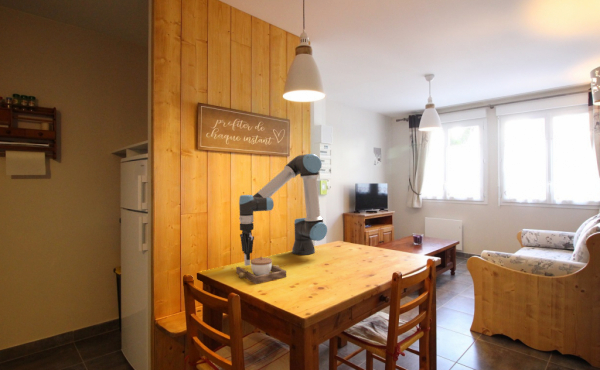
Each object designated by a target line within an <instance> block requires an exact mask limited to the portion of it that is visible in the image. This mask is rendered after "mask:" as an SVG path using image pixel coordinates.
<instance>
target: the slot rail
mask: <svg viewBox="0 0 600 370" xmlns="http://www.w3.org/2000/svg"><path fill="white" fill-rule="evenodd" d="M235 272H236V274H237V275H238V276H239V278H240V279H243V278H244V279H246V280H248V281H250V282H251V283H252V284H255V285H257V284H261V283H265V282H266V283H267V282H270V281H274V280H279V279H283V278H286V277H287V270H285V269H282V268H280V265H278V264H277V265H275V264H272V267H271V271H270V272H269V274H265V275H260V276H256V275H255V274H254V273H253V272H249V270H247V269H244V268H242V267H241V266H236V268H235Z"/></svg>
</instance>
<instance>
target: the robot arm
mask: <svg viewBox="0 0 600 370" xmlns="http://www.w3.org/2000/svg"><path fill="white" fill-rule="evenodd" d="M321 169H322V160H321V158H320V157H319V156H318V155H316V154H314V153H307V154H301V155H297V156H295V157H294V158H293V159H291V160H290V161H289V162H287V164H285V166H284V169H283V170H281V171H280V172H279V173H277V175H276V176H274V178H272V179H271V180H269V182H268V183H267V184H265V185H264V186H263V187H262V188H261V189H260V190H259V191H257V192H256V193H255V194H254V195H252V194H241V195H240V196H239V199H238V200H239V201H238V205H239V206H238V208H239V230H240V231H241V233H240V234H239V237H240V241H241V251H242V252H243V253H244V256H243V257H244V258H243V259H244V266H245V267H247V266H251V254H252V253H253V248H254V240H255V236H252V234H253V232H252V231H253V230H254V212H255V213H256V212H268V211H272V210H273V209H274V205H275V204H274V200H273V198H272V196H273V195H274V194H275V193H277V192H278V191H279V190H280V189H281V188H282V187H283V186H285V185H286V184H287V183H288V182H289V181H290V180H291V179H292V178H293V179H294V178H296V177H297V176H298V175H300V178H301V179H302V181H303V191H304V192H303V193H304V202H305V203H304V204H305V215H306V217H302V218H301V217H300V218H295V219H294V223H293V224H294V242H293V246H292V247H291V248H292V249H291V252H292V254H294V255H300V256H308V255H313V254H315V252H316V251H315V250H316V249H315V246H314V243H313V241H316V242H320V241H322V240H324V239H325V238H326V236H327V234H328V227H327V225H326V224H325V223H324V218H323V217H322V215H321V211H320V199H319V189H318V186H319V185H318V177H319V175H320V171H321Z"/></svg>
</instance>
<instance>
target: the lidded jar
mask: <svg viewBox="0 0 600 370" xmlns="http://www.w3.org/2000/svg"><path fill="white" fill-rule="evenodd" d="M272 263H273V260H272V258H270V257H263V256H260V257H255V258H252V259H250V267H251V271H252V272H251V273H252V274H254V275H256V276H260V275H265V274H269V273H271V267H272V265H273V264H272Z"/></svg>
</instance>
